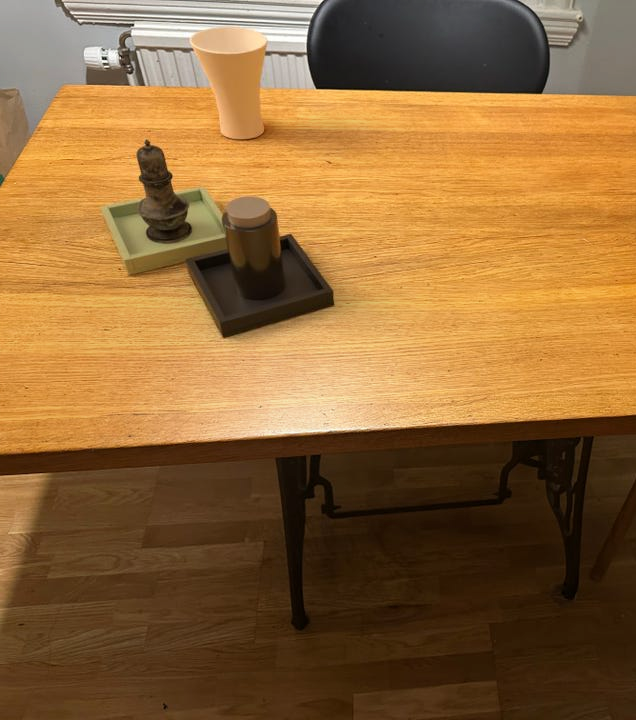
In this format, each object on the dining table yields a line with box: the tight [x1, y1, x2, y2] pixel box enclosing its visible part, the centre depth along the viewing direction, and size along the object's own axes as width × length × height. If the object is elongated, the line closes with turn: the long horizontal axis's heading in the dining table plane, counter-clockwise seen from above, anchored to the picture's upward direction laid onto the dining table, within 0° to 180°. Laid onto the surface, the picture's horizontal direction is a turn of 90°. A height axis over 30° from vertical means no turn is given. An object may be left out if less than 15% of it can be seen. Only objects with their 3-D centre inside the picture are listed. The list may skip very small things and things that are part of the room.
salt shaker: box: [136, 138, 192, 243], centre depth 81 cm, size 6×6×12 cm
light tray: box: [100, 185, 227, 276], centre depth 85 cm, size 13×13×2 cm
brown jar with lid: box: [222, 195, 285, 300], centre depth 76 cm, size 6×6×10 cm
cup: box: [189, 26, 269, 140], centre depth 103 cm, size 10×10×14 cm
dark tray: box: [185, 233, 335, 338], centre depth 79 cm, size 13×13×2 cm
